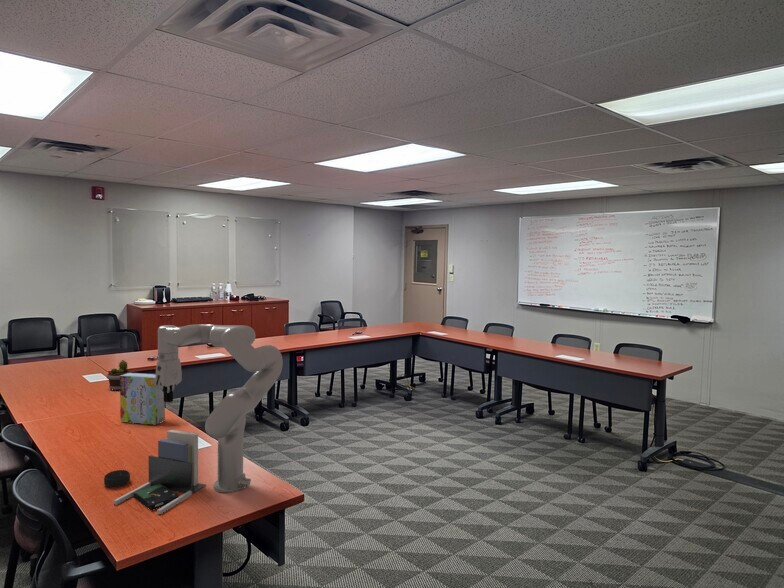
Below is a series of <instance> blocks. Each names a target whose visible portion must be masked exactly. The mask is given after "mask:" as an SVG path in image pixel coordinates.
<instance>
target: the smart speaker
mask: <svg viewBox="0 0 784 588" xmlns="http://www.w3.org/2000/svg"><path fill="white" fill-rule="evenodd" d="M130 473H131V472H130V471H129V470H126V469H118V470H117V469H116V470H113V471H110V472H108V473H107V474H105V475H104V478H103V482H104V483H103V484H104V486H105V487H106V488H111V489H112V488H121V487H123V486H126V485H127V484H129V482H130V481H131V474H130Z"/></svg>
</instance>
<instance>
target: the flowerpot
mask: <svg viewBox="0 0 784 588" xmlns="http://www.w3.org/2000/svg"><path fill="white" fill-rule="evenodd" d="M117 364H118V366H117V368H115V367H114V368H111V369H110V371H109V372H108V373H107V374H106V379H107V380H108V383H109V385H108V387H109V389H110V390H111V389H113V390H117V391H119V390H120V375H124V374H127V373H132V372H131V370H128V368H129V366H128V361H126V360H125V359H124V358H123V359H121V360H120V361H119V362H118V363H117Z"/></svg>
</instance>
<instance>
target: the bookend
mask: <svg viewBox="0 0 784 588" xmlns="http://www.w3.org/2000/svg"><path fill="white" fill-rule="evenodd" d="M148 482H149V483H151V486H153V485H156V484H160V483H161V484H162V485H164V486H166V487H167V488H168V489H170V490H172V491H173V492H175V493H180V494H184V493H186V492H188V491H192V495H193V494H195V493H197V492H198V491H200V490H201V489H203V488H205V487H206V486H207V484H205V483H199V482H198V484H197V485H195V486H192V463H189V462H184V461H178V460H173V459H167V458H161V457H158V456H155V455H148Z"/></svg>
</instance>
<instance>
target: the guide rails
mask: <svg viewBox="0 0 784 588" xmlns="http://www.w3.org/2000/svg"><path fill="white" fill-rule="evenodd" d="M150 486H151V483H149V481H148V482H146V483H144V484H142V485H140V486H138V487H136V488H134V489H133V490H131V491H128V492H127V493H124V494H123V495H122V496H119V497H118V498H116V499H113V505H114V504H115V505H114V506H118V505H119V504H121V503H123V502H125V501H126V499H127V500H128V499H130V498H132V497H134V493H135V491H139V490H142V489H145V488H147V487H150ZM192 495H193V494H192V491H188V492H186V493H182V494H181V495H180V496H179V497H178V498H176V499H175V500H173V501H171V502H170V503H168V504H166V505H165V506H163V507H161V508H158V509H157V515H159V514H161V513H162V514H164V513H166V512H167V511H169V510H170V509H172V508H173V507H175V506H176V504H177V505H178V504H180V503H182V502H183V501H184V499H185V500H187V499H188V498H189V497H191V496H192ZM179 502H180V503H179ZM171 507H172V508H171ZM168 509H169V510H168ZM166 510H167V511H166ZM163 512H164V513H163ZM162 514H161V515H162Z"/></svg>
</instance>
